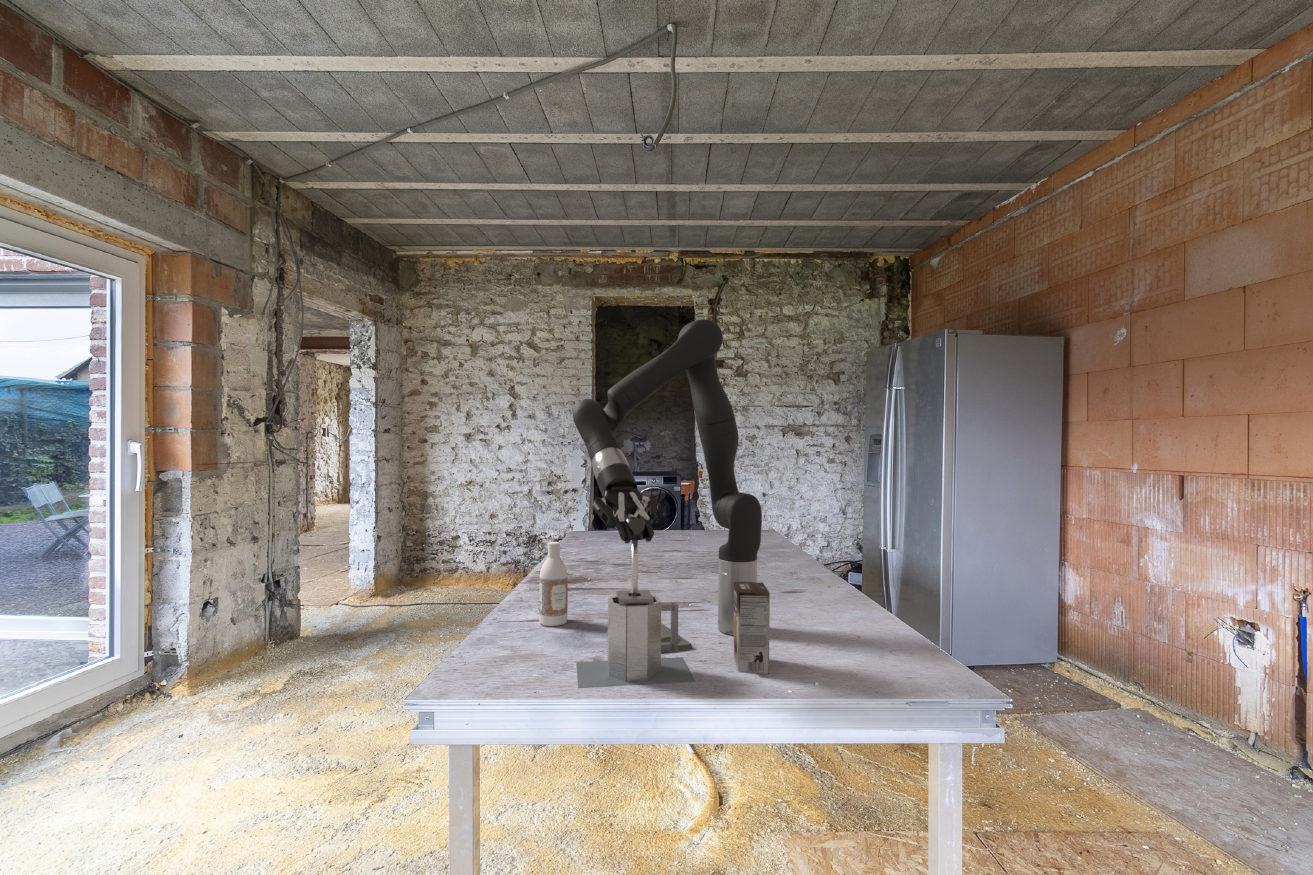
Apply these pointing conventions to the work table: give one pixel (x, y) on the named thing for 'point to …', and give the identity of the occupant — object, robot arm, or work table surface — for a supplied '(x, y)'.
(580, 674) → the mat
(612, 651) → the carafe
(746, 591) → the coffee box
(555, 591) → the bath foam
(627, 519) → the plunger
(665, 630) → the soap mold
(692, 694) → the work table surface
